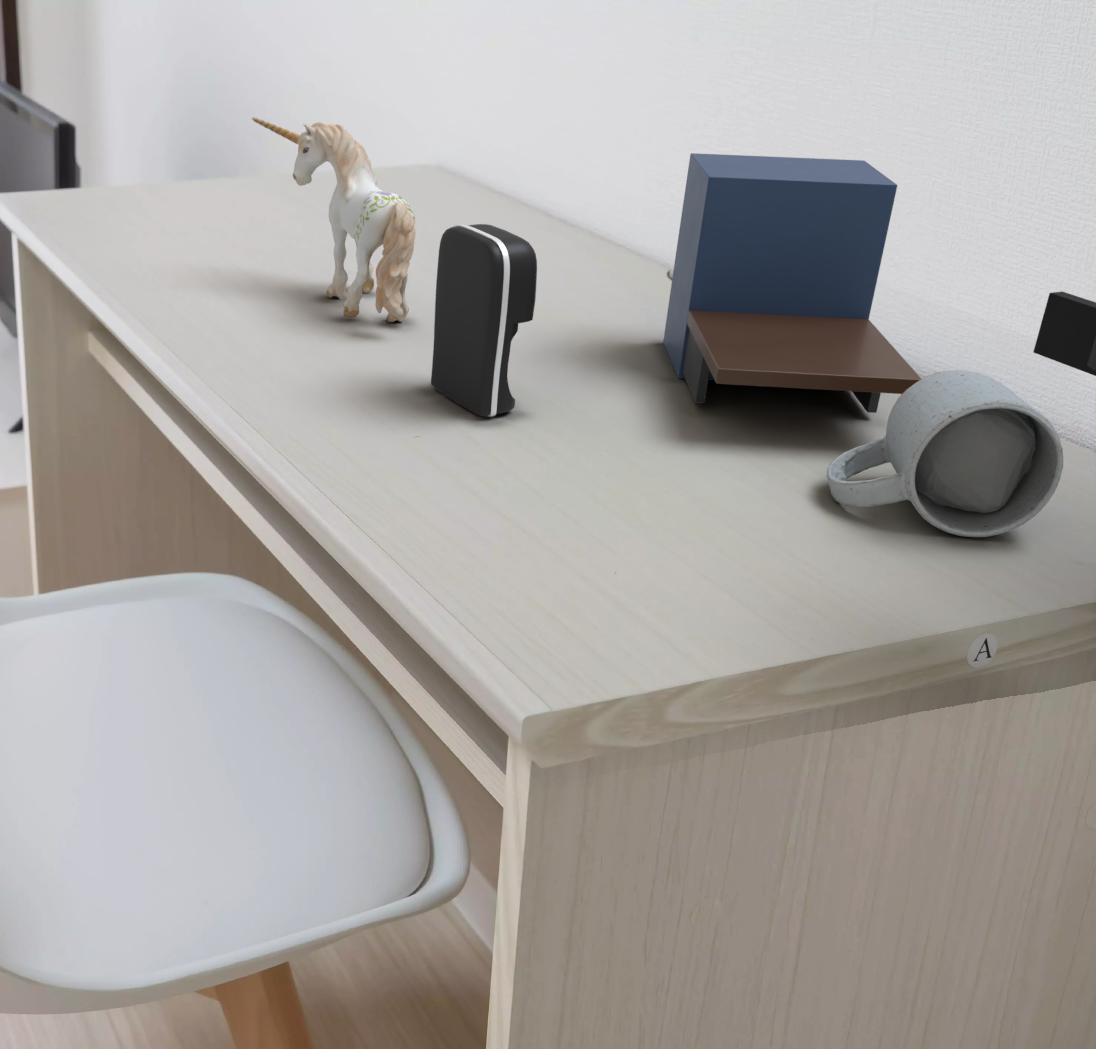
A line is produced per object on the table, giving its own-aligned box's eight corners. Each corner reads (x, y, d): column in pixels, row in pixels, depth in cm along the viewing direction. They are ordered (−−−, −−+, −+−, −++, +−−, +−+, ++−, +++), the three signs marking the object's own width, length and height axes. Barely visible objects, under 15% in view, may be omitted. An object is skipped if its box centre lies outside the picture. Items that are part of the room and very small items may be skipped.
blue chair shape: (826, 351, 100) (864, 160, 94) (905, 456, 82) (959, 229, 76) (662, 342, 101) (690, 153, 95) (705, 444, 83) (743, 220, 77)
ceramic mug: (996, 481, 79) (1027, 357, 76) (1045, 543, 72) (1082, 409, 68) (810, 471, 80) (832, 348, 77) (839, 531, 73) (866, 398, 70)
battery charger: (532, 414, 87) (550, 239, 82) (482, 422, 86) (498, 245, 81) (474, 379, 93) (487, 214, 88) (426, 387, 91) (437, 219, 86)
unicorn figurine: (320, 268, 117) (324, 110, 111) (464, 328, 103) (478, 150, 97) (250, 279, 114) (250, 116, 108) (390, 343, 99) (399, 160, 93)
